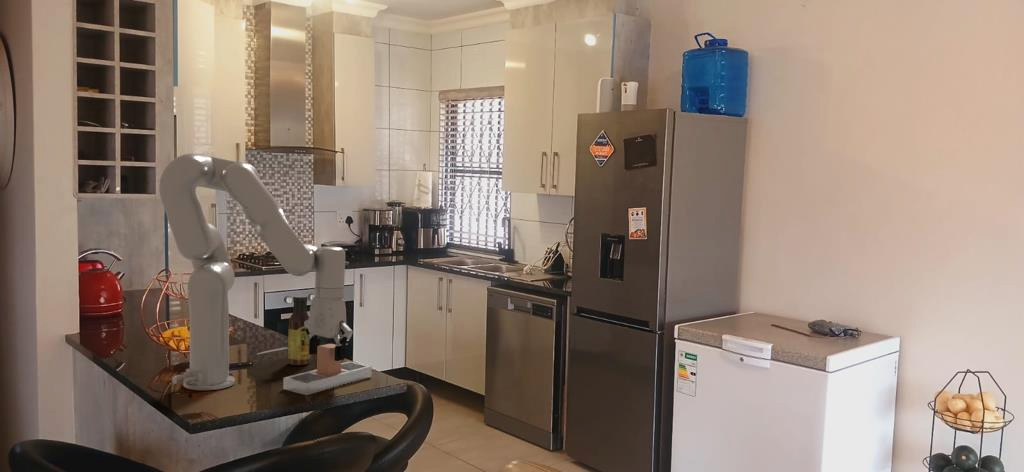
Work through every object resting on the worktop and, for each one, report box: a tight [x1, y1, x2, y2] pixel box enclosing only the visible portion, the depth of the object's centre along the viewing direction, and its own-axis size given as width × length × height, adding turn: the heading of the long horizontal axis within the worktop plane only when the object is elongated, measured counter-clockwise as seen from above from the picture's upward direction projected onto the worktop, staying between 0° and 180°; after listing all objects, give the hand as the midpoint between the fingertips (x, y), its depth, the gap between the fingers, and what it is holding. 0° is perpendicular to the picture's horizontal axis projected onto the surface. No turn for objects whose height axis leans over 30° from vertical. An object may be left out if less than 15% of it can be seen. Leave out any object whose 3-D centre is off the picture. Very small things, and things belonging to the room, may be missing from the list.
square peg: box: [316, 343, 342, 376], centre depth 211 cm, size 4×4×10 cm
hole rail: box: [283, 360, 373, 396], centre depth 212 cm, size 23×9×3 cm, turn 146°
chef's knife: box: [257, 346, 288, 355], centre depth 248 cm, size 19×1×3 cm
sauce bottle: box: [287, 295, 311, 366], centre depth 231 cm, size 6×6×20 cm
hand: (326, 356), depth 211 cm, fingers open, 9 cm apart
